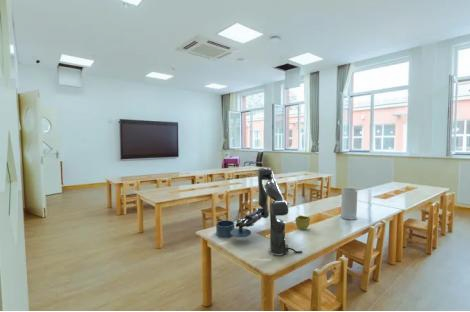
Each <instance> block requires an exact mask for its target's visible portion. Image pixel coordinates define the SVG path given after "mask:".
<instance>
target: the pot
mask: <svg viewBox="0 0 470 312" xmlns="http://www.w3.org/2000/svg"><path fill="white" fill-rule="evenodd" d="M235 227H236V223H235V222H234V221H232V220H228V219H227V220H226V219H224V220H219V221H217V222H216V224H215V235H216V236H217V237H218V238H225V239H226V238H227V239H228V238H231V237H233V236H232V235H231V234H230V232H231V231H232V230H234V229H236V228H235Z"/></svg>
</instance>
